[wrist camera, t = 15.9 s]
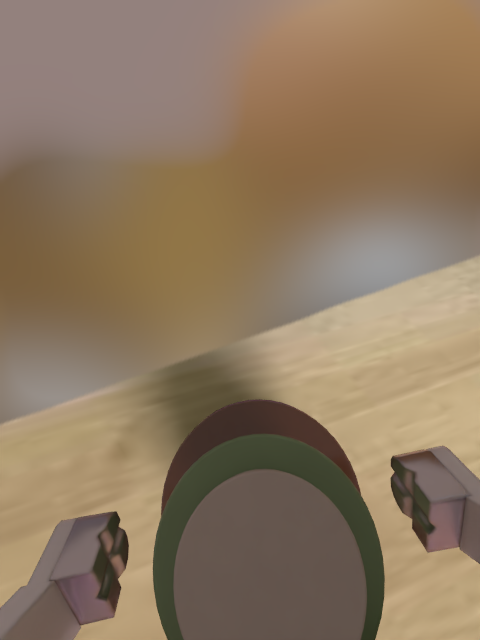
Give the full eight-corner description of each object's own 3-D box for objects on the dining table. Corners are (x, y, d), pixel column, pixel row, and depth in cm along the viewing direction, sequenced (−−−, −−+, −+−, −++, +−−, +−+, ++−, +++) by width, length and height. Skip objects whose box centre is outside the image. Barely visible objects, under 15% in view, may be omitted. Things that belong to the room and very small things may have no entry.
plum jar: (229, 404, 29) (208, 358, 17) (334, 450, 27) (402, 439, 14) (178, 519, 26) (102, 573, 13) (295, 582, 24) (340, 722, 11)
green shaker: (235, 433, 15) (204, 390, 6) (325, 475, 14) (441, 494, 5) (193, 534, 13) (69, 671, 5) (291, 588, 12) (376, 891, 4)
